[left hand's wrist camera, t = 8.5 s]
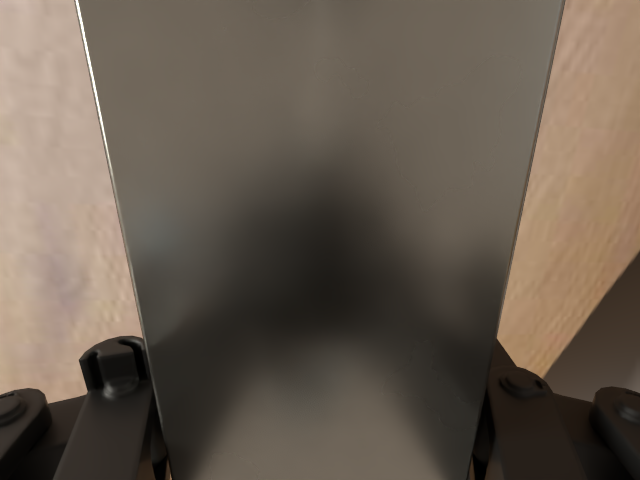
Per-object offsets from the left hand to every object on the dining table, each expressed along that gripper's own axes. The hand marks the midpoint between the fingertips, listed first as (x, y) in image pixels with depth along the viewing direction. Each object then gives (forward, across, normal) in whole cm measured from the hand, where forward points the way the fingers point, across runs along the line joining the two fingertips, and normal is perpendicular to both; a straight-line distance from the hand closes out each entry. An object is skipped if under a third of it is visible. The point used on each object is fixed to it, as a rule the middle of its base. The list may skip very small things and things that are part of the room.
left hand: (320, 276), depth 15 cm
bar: (0, 0, -8) cm, 8 cm away
